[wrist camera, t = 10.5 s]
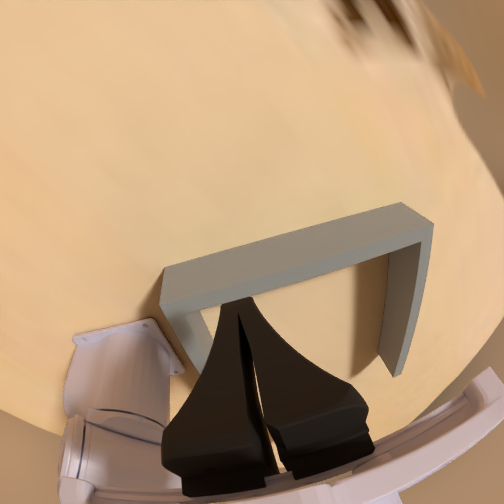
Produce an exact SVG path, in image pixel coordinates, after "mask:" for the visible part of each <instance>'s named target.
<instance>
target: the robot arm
mask: <svg viewBox="0 0 504 504" xmlns="http://www.w3.org/2000/svg"><path fill="white" fill-rule="evenodd" d="M144 324H147V325H144ZM72 340H73V342H74V343H75V344H76V345H77V346H76V349H75V352H74V355H73V358H72V361H71V364H70V367H69V371H68V374H67V377H66V381H65V384H64V388H63V405H64V409H65V412H66V415H67V417H68V421H67V424H66V427H65V431H64V435H63V440H62V445H61V450H60V457H59V465H58V485H57V490H58V497H59V498H60V500H61V503H60V504H208V503H216V504H402V501H401V499H400V497H399V494H398V493H399V492H401V491H403V490H405V489H407V488H409V487H411V486H412V485H414V484H416V483H417V482H420V481H421V480H423V479H425V478H426V477H428V476H430V475H431V474H433V473H435V472H436V471H438V470H439V469H441V468H442V467H444V466H446V465H447V464H449V463H450V462H451V461H453V460H454V459H456V458H457V457H459V456H460V455H461V454H463V453H464V452H465V451H467V450H468V449H469V448H471V447H472V446H473V445H475V444H476V443H477V442H478V441H480V440H481V439H482V438H483V437H485V436H486V435H487V434H488V433H489V432H491V431H492V430H493V429H494V428H495V427H496V426H497V425H498V424H499V423H500V422H501V421H503V419H504V385H503V383H502V382H501V381H500V380H499V378H498V377H497V375H496V374H495V373H494V372H493V370H492V369H491V368H490V367H487V368H486V369H485V370H484V371H482V372H481V373H480V374H478V375H477V376H476V377H474V378H473V379H472V380H471V381H470V382H469V383H468V384H467V385H466V387H465V388H464V391H463V392H461V393H460V394H459V395H457V396H456V397H454V398H453V399H451V400H450V401H448V402H447V403H445V404H443V405H442V406H440V407H439V408H437V409H436V410H434V411H432V412H430V413H429V414H427V415H425V416H424V417H422V418H420V419H418V420H417V421H415V422H413V423H411V424H409V425H407V426H405V427H404V428H402V429H400V430H398V431H396V432H394V433H392V434H390V435H387V436H385V437H383V438H381V439H379V440H377V441H374V442H372V440H371V438H370V435H369V433H368V432H369V428H368V426H367V424H366V418H367V415H368V412H369V407H368V406H367V404H366V402H365V400H364V399H363V398H362V396H361V395H360V394H359V393H358V391H357V390H356V389H355V388H354V387H353V386H352V385H351V384H349V383H347V382H345V381H343V380H341V379H339V378H337V377H335V376H333V375H331V374H329V373H328V372H326V371H324V370H323V369H321V368H319V367H318V366H316V365H315V364H314V363H312V362H311V361H309V360H308V359H306V358H305V357H304V356H302V355H301V354H300V353H298V352H297V351H296V350H295V349H294V348H292V347H291V346H290V345H289V344H288V343H287V342H286V341H285V340H284V339H283V338H282V337H281V336H280V335H279V334H278V333H277V332H276V331H275V330H274V329H273V328H272V327H271V325H270V324H269V323H268V322H267V320H266V319H265V318H264V317H263V315H262V314H261V312H260V311H259V309H258V308H257V306H256V304H255V302H254V300H253V298H252V297H250V296H249V297H246V298H242V299H238V300H235V301H231V302H227V303H224V304H222V305H221V309H220V316H219V321H218V326H217V330H216V334H215V337H214V341H213V344H212V347H211V350H210V353H209V356H208V358H207V361H206V363H205V366H204V368H203V370H202V373H201V375H200V377H199V379H198V381H197V383H196V384H195V386H194V388H193V390H192V392H191V393H190V395H189V397H188V398H187V400H186V401H185V403H184V404H183V406H182V407H181V409H180V410H179V412H178V413H177V414H176V416H175V417H174V418H173V419H172V421H171V422H170V376H173V375H178V374H183V373H185V367H184V366H183V364H182V363H181V361H180V360H179V358H178V357H177V355H176V353H175V352H174V350H173V349H172V347H171V346H170V344H169V342H168V341H167V339H166V337H165V336H164V334H163V332H162V331H161V329H160V327H159V326H158V324H157V322H156V321H155V320H154V319H152V318H148V319H143V320H139V321H135V322H131V323H127V324H122V325H118V326H113V327H109V328H105V329H100V330H96V331H91V332H86V333H82V334H77V335H74V336H73V338H72ZM253 362H254V364H253ZM254 367H255V371H254ZM255 372H256V377H257V382H258V387H259V392H260V397H261V403H262V409H263V413H262V409H261V406H260V402H259V397H258V392H257V385H256V378H255ZM263 415H264V417H263ZM266 426H267V428H268V430H269V432H270V434H271V436H272V438H273V440H274V442H275V444H276V447H277V450H278V454H279V458H280V461H281V462H282V463H283V465H284V466H285V468H286V470H287V472H285V473H281V474H280V472H279V470H278V466H277V463H276V459H275V456H274V453H273V449H272V446H271V442H270V439H269V435H268V432H267V428H266ZM351 470H353V471H352V475H349V476H346V477H344V478H340V479H337V480H333V481H330V482H326V483H318V484H313V483H316V482H320V481H323V480H326V479H329V478H332V477H334V476H338V475H340V474H343V473H346V472H348V471H351ZM310 484H312V485H310ZM306 485H308V486H306ZM218 502H221V503H218Z"/></svg>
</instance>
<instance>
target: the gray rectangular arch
mask: <svg viewBox="0 0 504 504" xmlns="http://www.w3.org/2000/svg"><path fill="white" fill-rule="evenodd" d="M433 227H434V223H432V222H431V221H429V220H428V219H426V218H425V217H423V216H422V215H420V214H419V213H417V212H416V211H414V210H413V209H411V208H409V207H408V206H406V205H405V204H403V203H402V202H400V203H396V204H393V205H389V206H385V207H381V208H378V209H374V210H370V211H366V212H363V213H359V214H355V215H352V216H348V217H344V218H341V219H337V220H333V221H330V222H326V223H322V224H319V225H315V226H311V227H308V228H304V229H300V230H297V231H293V232H289V233H286V234H282V235H279V236H275V237H271V238H268V239H264V240H261V241H257V242H253V243H250V244H246V245H243V246H239V247H236V248H232V249H229V250H225V251H221V252H218V253H214V254H211V255H207V256H204V257H200V258H197V259H193V260H190V261H186V262H183V263H179V264H176V265H172V266H169V267H165V269H164V275H163V281H162V288H161V295H160V302H159V306H160V308H161V309H162V311H163V313H164V315H165V317H166V319H167V320H168V322H169V324H170V326H171V328H172V329H173V331H174V333H175V335H176V336H177V338H178V340H179V341H180V343H181V345H182V347H183V348H184V350H185V352H186V353H187V355H188V357H189V358H190V360H191V361H192V363H193V365H194V366H195V368H196V369H197V371H198V373H199V374H200V375H201V373H202V370H203V368H204V366H205V363H206V361H207V358H208V356H209V353H210V350H211V347H212V344H213V339H212V337H211V335H210V333H209V330H208V328H207V326H206V324H205V322H204V320H203V317H202V315H201V313H200V311H199V310H201V309H205V308H208V307H212V306H216V305H220V304H223V303H227V302H231V301H234V300H238V299H242V298H245V297H249V296H252V295H256V294H259V293H263V292H266V291H270V290H273V289H277V288H280V287H283V286H287V285H290V284H293V283H297V282H300V281H303V280H307V279H310V278H313V277H316V276H320V275H323V274H326V273H329V272H332V271H335V270H339V269H342V268H345V267H348V266H351V265H354V264H357V263H360V262H363V261H366V260H369V259H372V258H375V257H378V256H381V255H384V254H387V253H389V265H388V277H387V288H386V298H385V306H384V314H383V322H382V329H381V335H380V341H379V347H378V354H379V355H380V357H381V358H382V360H383V362H384V363H385V365H386V367H387V368H388V370H389V372H390V373H391V375H392V377H393V378H394V377H396V376H398V375H400V374H401V373H402V370H403V367H404V364H405V361H406V358H407V355H408V352H409V348H410V345H411V341H412V338H413V334H414V331H415V327H416V323H417V319H418V315H419V311H420V306H421V302H422V297H423V292H424V287H425V282H426V277H427V271H428V265H429V259H430V252H431V244H432V236H433Z"/></svg>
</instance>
